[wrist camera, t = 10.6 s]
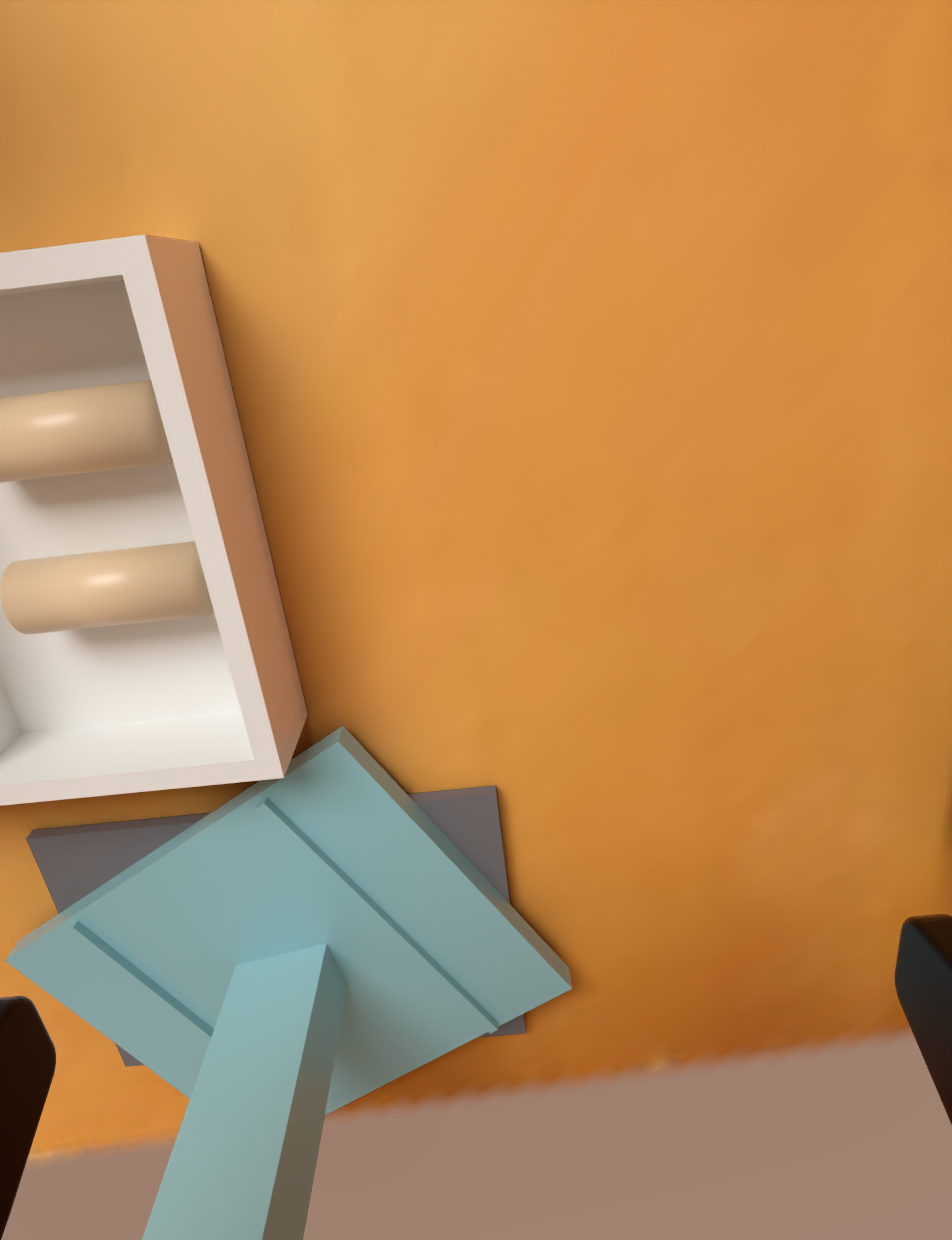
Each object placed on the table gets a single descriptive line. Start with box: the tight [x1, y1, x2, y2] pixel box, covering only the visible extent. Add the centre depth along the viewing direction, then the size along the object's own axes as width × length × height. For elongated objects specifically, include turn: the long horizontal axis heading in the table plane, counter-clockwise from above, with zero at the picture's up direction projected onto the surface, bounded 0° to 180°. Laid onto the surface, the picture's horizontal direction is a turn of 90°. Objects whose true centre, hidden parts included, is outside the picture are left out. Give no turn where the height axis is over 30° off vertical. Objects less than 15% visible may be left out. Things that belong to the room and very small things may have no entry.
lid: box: [5, 726, 572, 1240], centre depth 20 cm, size 13×11×11 cm
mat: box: [26, 786, 526, 1066], centre depth 25 cm, size 14×10×1 cm
